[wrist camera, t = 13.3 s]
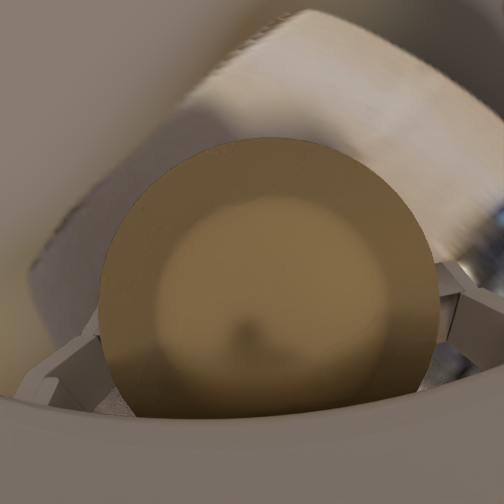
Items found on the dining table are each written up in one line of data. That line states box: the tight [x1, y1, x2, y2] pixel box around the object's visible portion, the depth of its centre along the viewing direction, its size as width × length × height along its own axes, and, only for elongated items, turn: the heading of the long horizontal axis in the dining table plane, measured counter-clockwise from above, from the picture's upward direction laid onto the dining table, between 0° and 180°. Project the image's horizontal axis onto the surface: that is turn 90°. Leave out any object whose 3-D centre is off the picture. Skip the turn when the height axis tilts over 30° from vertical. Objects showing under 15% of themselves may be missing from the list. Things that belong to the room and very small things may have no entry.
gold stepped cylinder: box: [98, 138, 440, 419], centre depth 11 cm, size 6×6×11 cm
